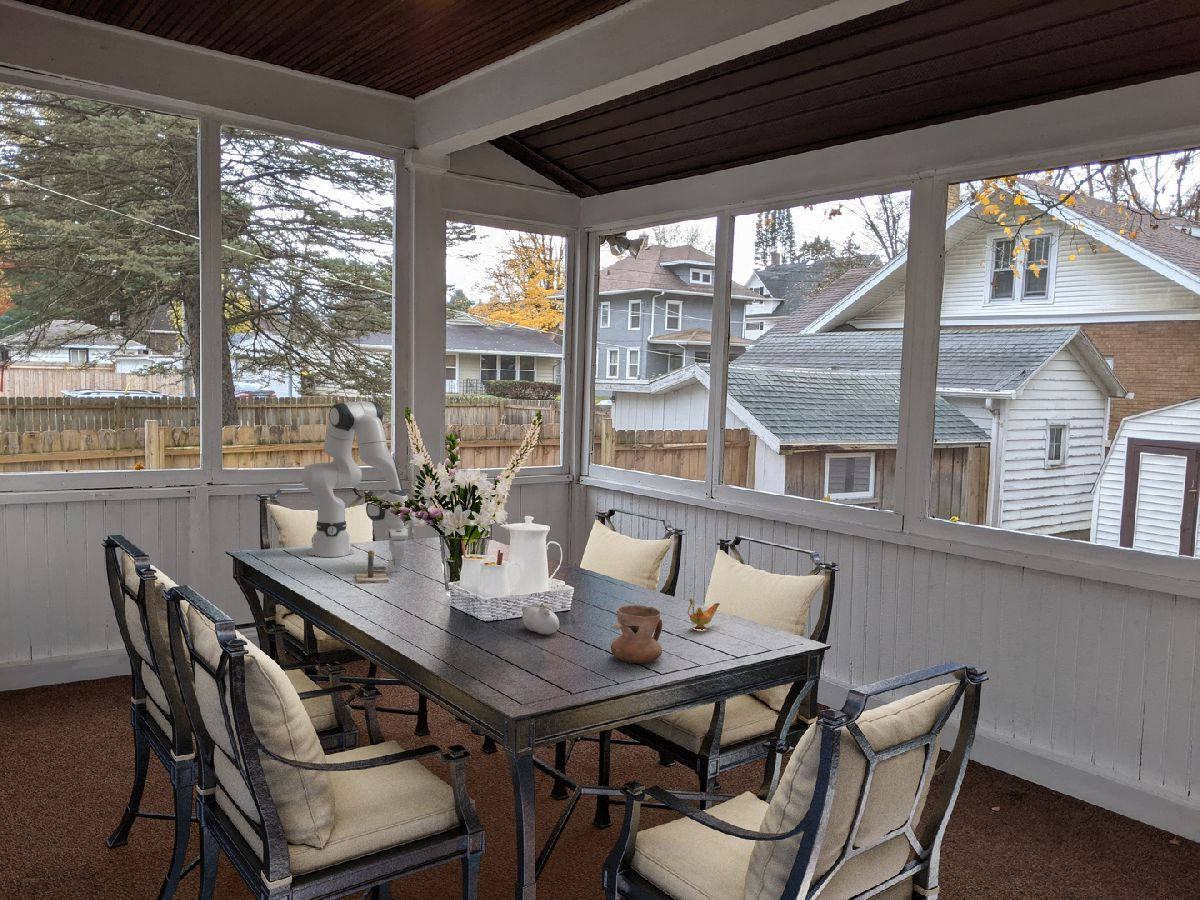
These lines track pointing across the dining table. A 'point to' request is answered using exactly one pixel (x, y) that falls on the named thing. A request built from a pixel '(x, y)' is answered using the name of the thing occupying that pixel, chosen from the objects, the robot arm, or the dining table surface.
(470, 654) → the dining table surface
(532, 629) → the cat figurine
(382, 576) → the peg stand
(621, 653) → the ceramic jug
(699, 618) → the magic lamp
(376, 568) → the link
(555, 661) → the dining table surface
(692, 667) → the dining table surface
